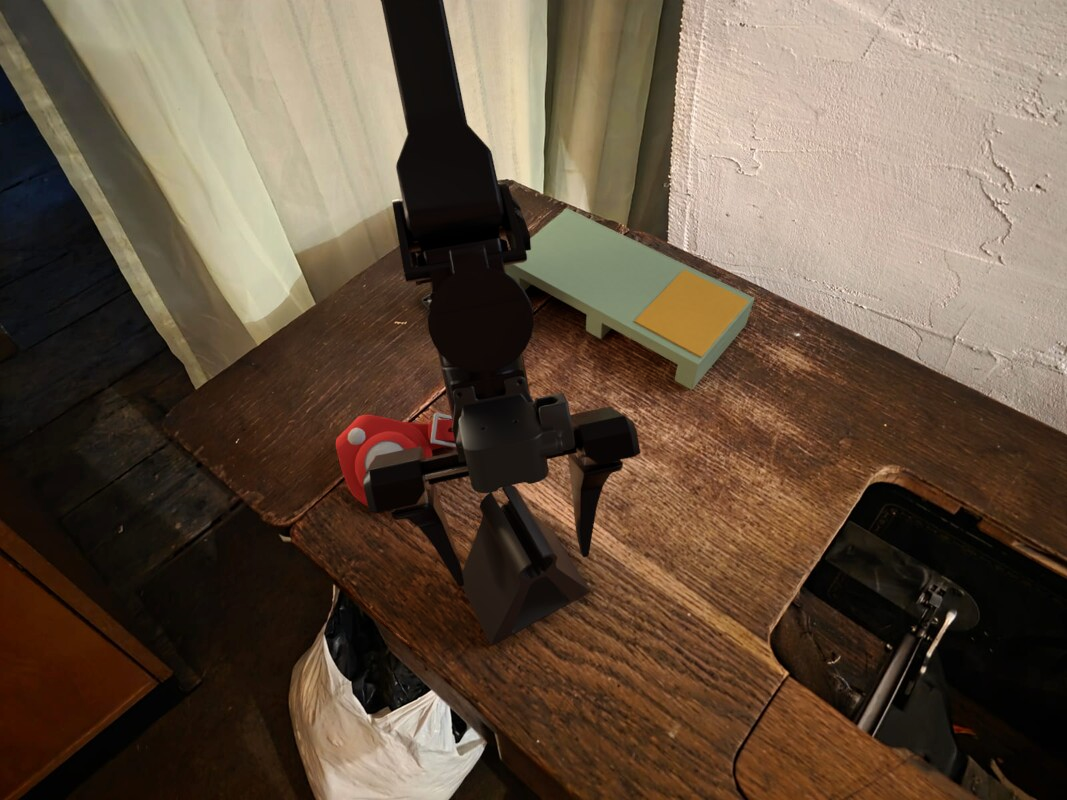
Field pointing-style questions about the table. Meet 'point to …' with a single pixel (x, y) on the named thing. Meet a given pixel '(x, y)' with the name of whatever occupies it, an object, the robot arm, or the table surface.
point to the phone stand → (517, 569)
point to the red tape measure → (386, 444)
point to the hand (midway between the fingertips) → (523, 569)
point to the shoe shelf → (635, 292)
